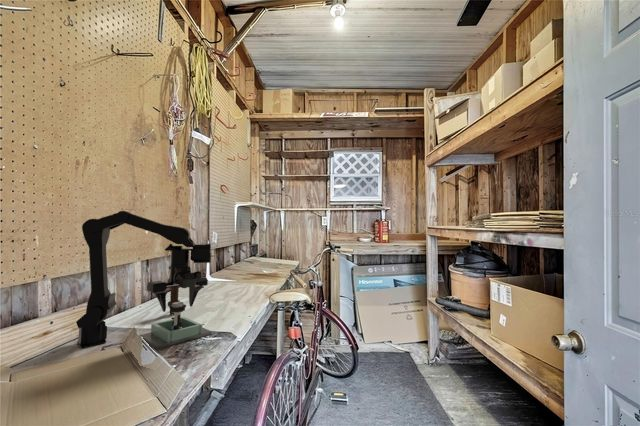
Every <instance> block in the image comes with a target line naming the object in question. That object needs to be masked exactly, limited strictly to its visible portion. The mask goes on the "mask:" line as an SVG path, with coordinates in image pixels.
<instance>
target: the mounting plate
mask: <svg viewBox="0 0 640 426" xmlns="http://www.w3.org/2000/svg"><path fill="white" fill-rule="evenodd" d="M183 328H184V327H183ZM169 331H172V329H169ZM210 335H212V330H209V329H207V328H204V327H203V326H202V334H198V335H195V336H191V337H187V338H183V339H180V340H176V341H172V342H169V343H168V342H166V341H164V340H163V339H161V338H159V337H158V336H156V335H154V334H152V333H151V332H147V333H146V332H145V333H143V334H139V337H140V336H142V337H143V339H144V340H145V341H147V342H146V343H147V344H148V345H150V346H152V347H153V348H155V349H156V350H160V349H162V348H167V347H169V346H174V345H177V344H181V343H184V342H189V341H191V340H196V339H199V338H203V337H206V336H210ZM144 340H143V341H144ZM145 341H144V342H145Z"/></svg>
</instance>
